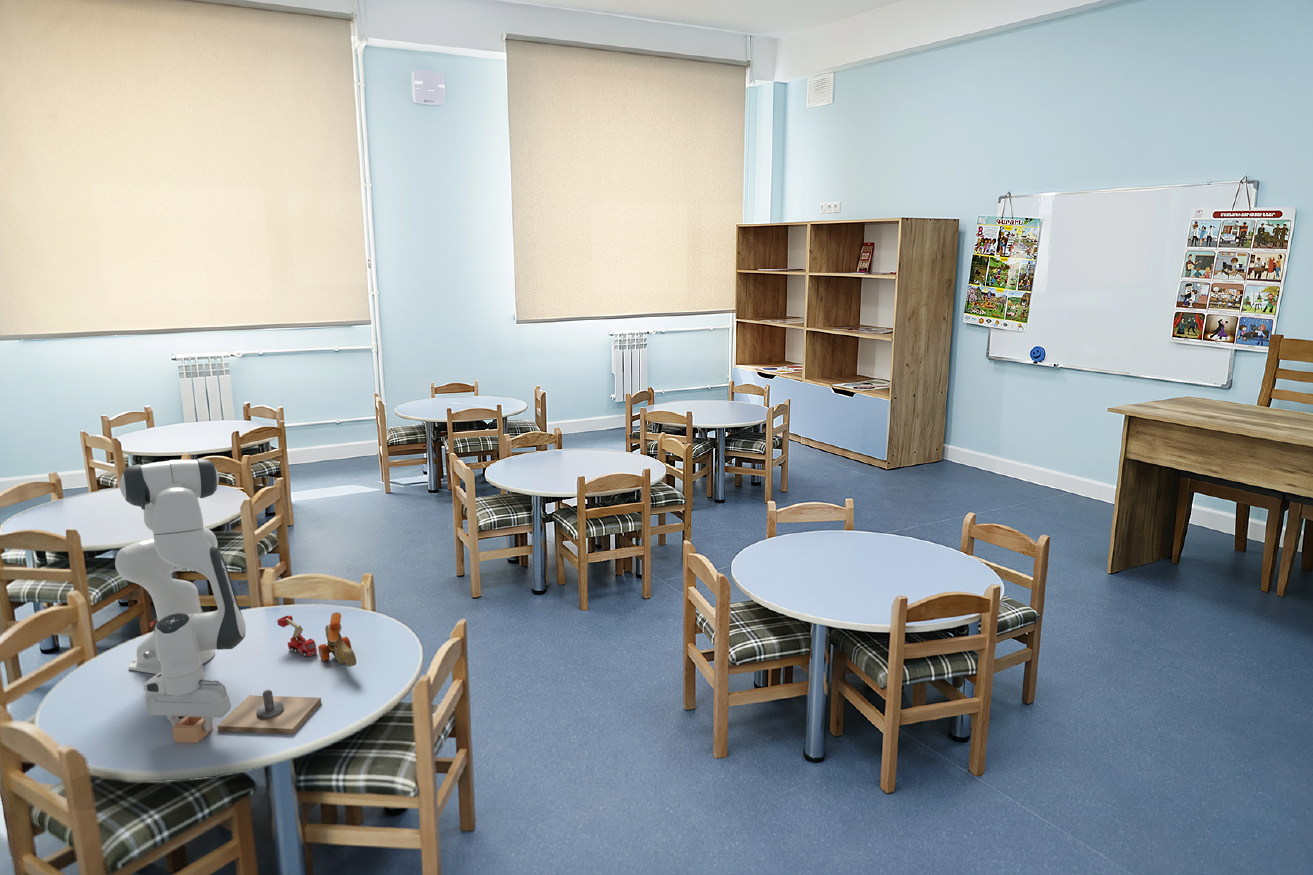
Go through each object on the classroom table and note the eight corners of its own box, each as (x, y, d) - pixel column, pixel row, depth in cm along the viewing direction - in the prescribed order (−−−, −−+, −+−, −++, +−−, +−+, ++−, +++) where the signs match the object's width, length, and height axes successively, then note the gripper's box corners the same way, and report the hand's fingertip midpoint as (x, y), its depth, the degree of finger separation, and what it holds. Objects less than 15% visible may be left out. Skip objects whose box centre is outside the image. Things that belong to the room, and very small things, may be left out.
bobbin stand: (218, 731, 205) (213, 704, 203) (250, 700, 219) (246, 674, 217) (293, 734, 203) (289, 706, 201) (321, 702, 217) (317, 676, 215)
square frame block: (175, 742, 201) (172, 727, 200) (190, 727, 207) (188, 713, 206) (197, 743, 201) (195, 728, 200) (213, 728, 206) (210, 714, 206)
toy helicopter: (346, 647, 246) (340, 605, 243) (370, 674, 230) (365, 630, 227) (318, 656, 241) (311, 613, 238) (341, 684, 225) (335, 639, 222)
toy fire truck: (309, 658, 240) (304, 628, 238) (280, 647, 247) (276, 618, 245) (318, 653, 243) (314, 623, 240) (290, 642, 250) (286, 613, 248)
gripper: (231, 674, 202) (239, 723, 205) (154, 671, 204) (164, 720, 208) (215, 687, 196) (224, 738, 199) (136, 685, 198) (146, 735, 202)
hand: (193, 729), depth 204 cm, fingers closed on square frame block, 6 cm apart
